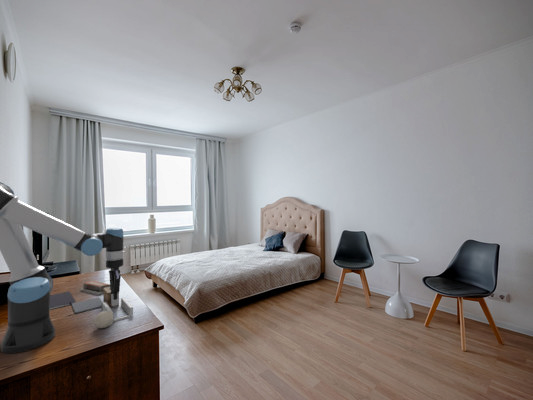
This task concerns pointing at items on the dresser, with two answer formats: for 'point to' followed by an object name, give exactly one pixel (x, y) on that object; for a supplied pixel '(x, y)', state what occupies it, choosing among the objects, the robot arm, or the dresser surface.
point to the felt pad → (87, 305)
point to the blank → (108, 296)
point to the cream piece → (103, 319)
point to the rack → (124, 304)
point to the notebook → (61, 300)
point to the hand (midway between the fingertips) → (114, 305)
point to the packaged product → (94, 287)
